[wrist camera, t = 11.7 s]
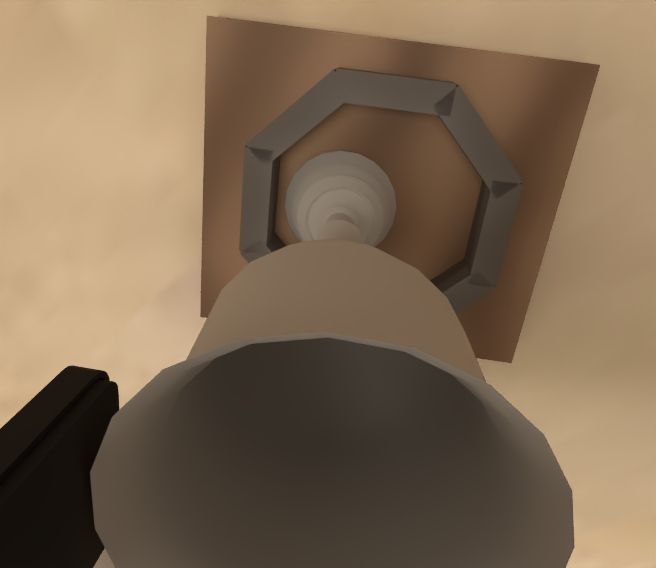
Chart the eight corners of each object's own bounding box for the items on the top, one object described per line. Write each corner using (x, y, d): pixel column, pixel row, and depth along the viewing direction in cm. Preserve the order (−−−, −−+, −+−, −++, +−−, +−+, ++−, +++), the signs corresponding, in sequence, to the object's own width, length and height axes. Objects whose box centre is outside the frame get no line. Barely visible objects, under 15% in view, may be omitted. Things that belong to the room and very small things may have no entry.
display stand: (587, 64, 23) (620, 66, 19) (504, 347, 28) (520, 385, 25) (217, 18, 23) (190, 12, 20) (209, 304, 29) (187, 335, 26)
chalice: (233, 218, 25) (15, 557, 8) (318, 93, 22) (247, 220, 6) (359, 303, 26) (383, 729, 10) (451, 194, 24) (682, 515, 8)
